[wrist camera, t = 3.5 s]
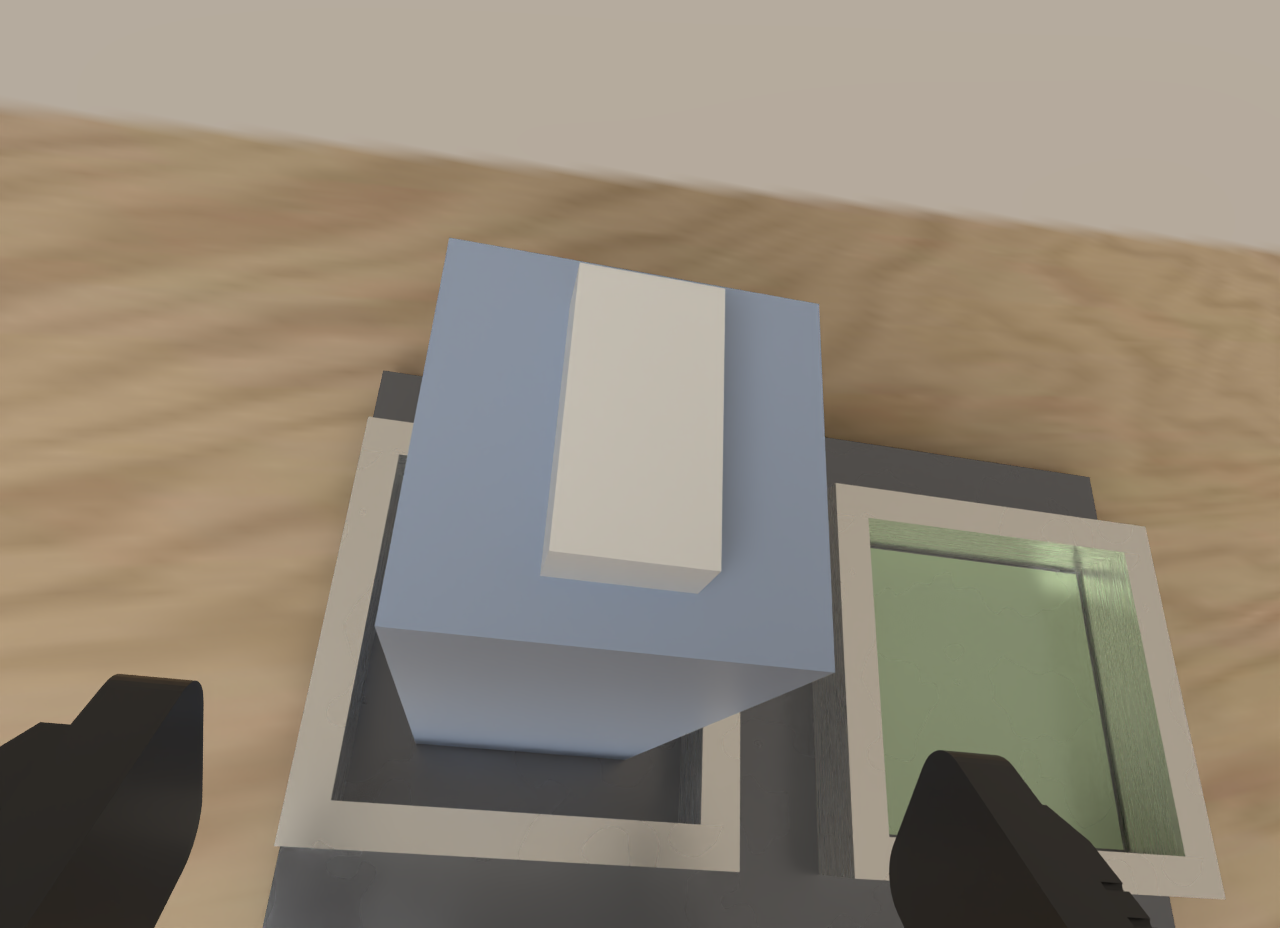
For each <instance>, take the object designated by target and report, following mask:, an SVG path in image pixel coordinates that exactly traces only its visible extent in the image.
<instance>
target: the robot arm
mask: <svg viewBox="0 0 1280 928" xmlns="http://www.w3.org/2000/svg"><path fill="white" fill-rule="evenodd" d="M202 779H203V690H202V687H201V684H200V683H199V682H198V681H192V680H181V679H170V678H158V677H147V676H136V675H125V674H117V675H114V676H112V677H111V678H110V679H108V680H107V682H106V683H105V684H104V685H103V686H102V687H101V688H100V690H99V691H98V692H97V693H96V694H95V696H94V697H93V698H92V699H91V701H90V702H89V703H88V704H87V705H86V707H85V708H84V709H83V710H82V711H81V713H80V714H79V715H78V716H77V717H76V719H75V720H74V721H73V722H72V724H71V725H68V724H55V723H43V722H40V723H38V724H37V725H35V726H33V727H32V728H30V729H28V730H27V731H25V732H24V733H22V734H20V735H19V736H17V737H15V738H14V739H12V740H10V741H9V742H7V743H5V744H4V745H2V746H0V928H154V927H155V925H156V923H157V921H158V919H159V917H160V915H161V913H162V911H163V909H164V907H165V905H166V903H167V901H168V899H169V897H170V895H171V893H172V891H173V889H174V887H175V885H176V883H177V881H178V879H179V877H180V875H181V873H182V871H183V869H184V867H185V865H186V863H187V860H188V858H189V855H190V852H191V849H192V847H193V843H194V840H195V837H196V833H197V829H198V825H199V820H200V814H201V807H202ZM889 882H890V889H891V894H892V899H893V902H894V905H895V908H896V911H897V913H898V915H899V917H900V920H901V922H902V924H903V926H904V928H1152V926H1151V924H1150V917H1149V916H1148V915H1147V914H1146V912H1145V911H1144V910H1143V908H1142V907H1141V906H1140V905H1139V903H1138V902H1137V901H1136V899H1135V898H1134V897H1133V896H1132V894H1131V893H1130V892H1127V891H1124V890H1123V888H1122V884H1123V883H1122V882H1121V880H1120V879H1119V878H1118V876H1117V875H1116V874H1115V873H1114V871H1113V870H1112V869H1111V868H1110V866H1109V865H1108V864H1107V862H1106V861H1105V860H1104V859H1103V857H1102V856H1101V855H1100V854H1099V852H1098V851H1097V850H1096V848H1095V847H1094V846H1093V845H1092V843H1091V842H1090V841H1089V840H1088V839H1087V838H1085V837H1084V836H1083V835H1082V834H1081V833H1079V832H1078V831H1077V830H1076V829H1075V828H1073V827H1072V826H1071V825H1070V824H1069V823H1067V822H1066V821H1065V820H1064V819H1063V818H1061V817H1060V816H1059V815H1058V814H1057V813H1055V812H1054V811H1053V810H1052V809H1051V808H1049V807H1048V806H1047V805H1042V804H1041V802H1040V801H1039V800H1038V798H1037V797H1036V796H1035V794H1034V793H1033V792H1032V790H1031V789H1030V788H1029V786H1028V785H1027V784H1026V783H1025V781H1024V780H1023V779H1022V777H1021V776H1020V775H1019V773H1018V772H1017V771H1016V769H1015V768H1014V767H1013V765H1012V764H1011V763H1010V762H1009V761H1008V760H1006V759H1005V758H1004V757H1001V756H999V755H991V754H980V753H968V752H957V751H946V750H937V751H934V752H933V753H931V754H930V755H929V756H928V758H927V759H926V761H925V763H924V765H923V768H922V770H921V773H920V776H919V778H918V781H917V783H916V786H915V789H914V791H913V794H912V797H911V799H910V802H909V805H908V807H907V810H906V813H905V815H904V818H903V821H902V823H901V826H900V829H899V831H898V834H897V837H896V839H895V842H894V844H893V847H892V851H891V855H890V862H889Z"/></svg>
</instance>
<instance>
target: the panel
mask: <svg viewBox="0 0 1280 928" xmlns="http://www.w3.org/2000/svg"><path fill="white" fill-rule="evenodd" d="M422 377H423V376H416V375H409V374H403V373H396V372H390V371H383V374H382V379H381V383H380V388H379V392H378V397H377V402H376V406H375V411H374V416H373V417H368V420H367V425H366V430H365V434H364V439H363V443H362V448H361V452H360V457H359V461H358V466H357V471H356V475H355V480H354V484H353V489H352V493H351V498H350V502H349V507H348V512H347V516H346V521H345V525H344V530H343V534H342V539H341V543H340V548H339V553H338V557H337V562H336V566H335V571H334V575H333V580H332V585H331V589H330V594H329V598H328V603H327V607H326V612H325V616H324V621H323V626H322V630H321V635H320V639H319V644H318V648H317V653H316V657H315V662H314V667H313V671H312V676H311V680H310V685H309V689H308V694H307V698H306V703H305V708H304V712H303V717H302V721H301V726H300V730H299V735H298V739H297V744H296V749H295V753H294V758H293V762H292V767H291V771H290V776H289V781H288V785H287V790H286V794H285V799H284V803H283V808H282V812H281V817H280V822H279V826H278V831H277V835H276V840H275V844H274V846H280V850H279V854H278V859H277V863H276V868H275V873H274V877H273V882H272V887H271V891H270V896H269V900H268V905H267V910H266V914H265V919H264V923H263V928H904V926H903V924H902V922H901V920H900V917H899V915H898V913H897V911H896V908H895V905H894V902H893V899H892V894H891V889H890V882H889V862H890V855H891V851H892V847H893V844H894V842H895V839H896V837H897V834H898V831H899V829H900V826H901V823H902V821H903V818H904V815H905V813H906V810H907V807H908V805H909V802H910V799H911V797H912V794H913V791H914V789H915V786H916V783H917V781H918V778H919V776H920V773H921V770H922V768H923V765H924V763H925V761H926V759H927V758H928V756H929V755H930V754H931V753H933V752H934V751H937V750H946V751H957V752H968V753H980V754H991V755H999V756H1001V757H1004V758H1005V759H1006V760H1008V761H1009V762H1010V763H1011V764H1012V765H1013V767H1014V768H1015V769H1016V771H1017V772H1018V773H1019V775H1020V776H1021V777H1022V779H1023V780H1024V781H1025V783H1026V784H1027V785H1028V786H1029V788H1030V789H1031V790H1032V792H1033V793H1034V794H1035V796H1036V797H1037V798H1038V800H1039V801H1040V802H1041V804H1042V805H1047V806H1048V807H1049V808H1051V809H1052V810H1053V811H1054V812H1055V813H1057V814H1058V815H1059V816H1060V817H1061V818H1063V819H1064V820H1065V821H1066V822H1067V823H1069V824H1070V825H1071V826H1072V827H1073V828H1075V829H1076V830H1077V831H1078V832H1079V833H1081V834H1082V835H1083V836H1084V837H1085V838H1087V839H1088V840H1089V841H1090V842H1091V843H1092V845H1093V846H1094V847H1095V848H1096V850H1097V851H1098V852H1099V854H1100V855H1101V856H1102V857H1103V859H1104V860H1105V861H1106V862H1107V864H1108V865H1109V866H1110V868H1111V869H1112V870H1113V871H1114V873H1115V874H1116V875H1117V876H1118V878H1119V879H1120V880H1121V882H1122V883H1123V884H1122V888H1123V890H1124V891H1127V892H1130V893H1131V894H1132V896H1133V897H1134V898H1135V899H1136V901H1137V902H1138V903H1139V905H1140V906H1141V907H1142V908H1143V910H1144V911H1145V912H1146V914H1147V915H1148V916H1149V917H1150V924H1151V926H1152V928H1175V925H1174V919H1173V914H1172V909H1171V904H1170V898H1169V896H1172V897H1189V898H1207V899H1225V900H1226V898H1225V894H1224V889H1223V884H1222V880H1221V875H1220V871H1219V866H1218V861H1217V857H1216V852H1215V847H1214V843H1213V838H1212V834H1211V829H1210V824H1209V820H1208V815H1207V810H1206V806H1205V801H1204V796H1203V792H1202V787H1201V783H1200V778H1199V773H1198V769H1197V764H1196V759H1195V755H1194V750H1193V745H1192V741H1191V736H1190V732H1189V727H1188V722H1187V718H1186V713H1185V708H1184V704H1183V699H1182V695H1181V690H1180V685H1179V681H1178V676H1177V671H1176V667H1175V662H1174V657H1173V653H1172V648H1171V644H1170V639H1169V634H1168V630H1167V625H1166V620H1165V616H1164V611H1163V606H1162V602H1161V597H1160V593H1159V588H1158V583H1157V579H1156V574H1155V569H1154V565H1153V560H1152V556H1151V551H1150V546H1149V542H1148V537H1147V532H1146V528H1145V527H1143V526H1136V525H1129V524H1122V523H1115V522H1108V521H1101V520H1097V515H1096V510H1095V505H1094V499H1093V494H1092V489H1091V484H1090V478H1089V477H1084V476H1077V475H1071V474H1064V473H1057V472H1051V471H1044V470H1038V469H1031V468H1024V467H1018V466H1011V465H1005V464H998V463H991V462H985V461H978V460H971V459H965V458H958V457H952V456H945V455H938V454H932V453H925V452H919V451H912V450H905V449H899V448H892V447H886V446H879V445H872V444H866V443H859V442H852V441H846V440H839V439H833V438H826V437H825V454H826V477H827V500H828V522H829V545H830V568H831V591H832V614H833V636H834V659H835V673H833V674H831V675H828V676H826V677H823V678H821V679H818V680H816V681H814V682H811V683H809V684H806V685H804V686H802V687H799V688H797V689H794V690H792V691H790V692H787V693H785V694H782V695H780V696H778V697H775V698H773V699H770V700H768V701H766V702H763V703H761V704H758V705H756V706H753V707H751V708H749V709H746V710H744V711H741V712H739V713H737V714H734V715H732V716H729V717H727V718H725V719H722V720H720V721H717V722H715V723H713V724H710V725H708V726H705V727H703V728H701V729H698V730H696V731H693V732H691V733H688V734H686V735H684V736H681V737H679V738H676V739H674V740H672V741H669V742H667V743H664V744H662V745H660V746H657V747H655V748H652V749H650V750H648V751H645V752H643V753H640V754H638V755H636V756H633V757H631V758H628V759H626V760H620V759H608V758H595V757H582V756H569V755H556V754H544V753H531V752H518V751H505V750H492V749H480V748H467V747H454V746H441V745H429V744H416V742H415V740H414V737H413V734H412V731H411V728H410V725H409V723H408V720H407V717H406V714H405V711H404V708H403V706H402V703H401V700H400V697H399V694H398V691H397V688H396V686H395V683H394V680H393V677H392V674H391V671H390V669H389V666H388V663H387V660H386V657H385V654H384V652H383V649H382V646H381V643H380V640H379V637H378V634H377V632H376V629H375V622H376V616H377V611H378V606H379V601H380V596H381V590H382V585H383V580H384V575H385V570H386V564H387V559H388V554H389V549H390V544H391V538H392V533H393V528H394V523H395V518H396V513H397V507H398V502H399V497H400V492H401V487H402V481H403V476H404V471H405V466H406V461H407V455H408V450H409V445H410V440H411V435H412V429H413V424H414V419H415V414H416V409H417V403H418V398H419V393H420V388H421V383H422Z"/></svg>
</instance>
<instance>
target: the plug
mask: <svg viewBox="0 0 1280 928" xmlns="http://www.w3.org/2000/svg"><path fill="white" fill-rule="evenodd" d="M375 629H376V632H377V634H378V637H379V640H380V643H381V646H382V649H383V652H384V654H385V657H386V660H387V663H388V666H389V669H390V671H391V674H392V677H393V680H394V683H395V686H396V688H397V691H398V694H399V697H400V700H401V703H402V706H403V708H404V711H405V714H406V717H407V720H408V723H409V725H410V728H411V731H412V734H413V737H414V740H415V742H416V744H429V745H441V746H454V747H467V748H480V749H492V750H505V751H518V752H531V753H544V754H556V755H569V756H582V757H595V758H608V759H620V760H626V759H628V758H631V757H633V756H636V755H638V754H640V753H643V752H645V751H648V750H650V749H652V748H655V747H657V746H660V745H662V744H664V743H667V742H669V741H672V740H674V739H676V738H679V737H681V736H684V735H686V734H688V733H691V732H693V731H696V730H698V729H701V728H703V727H705V726H708V725H710V724H713V723H715V722H717V721H720V720H722V719H725V718H727V717H729V716H732V715H734V714H737V713H739V712H741V711H744V710H746V709H749V708H751V707H753V706H756V705H758V704H761V703H763V702H766V701H768V700H770V699H773V698H775V697H778V696H780V695H782V694H785V693H787V692H790V691H792V690H794V689H797V688H799V687H802V686H804V685H806V684H809V683H811V682H814V681H816V680H818V679H821V678H823V677H826V676H828V675H831V674H833V673H835V659H834V636H833V614H832V591H831V568H830V545H829V522H828V500H827V477H826V454H825V431H824V408H823V385H822V363H821V340H820V317H819V304H816V303H810V302H805V301H799V300H794V299H788V298H782V297H777V296H771V295H766V294H760V293H755V292H749V291H743V290H738V289H732V288H727V287H721V286H716V285H710V284H705V283H699V282H693V281H688V280H682V279H677V278H671V277H666V276H660V275H654V274H649V273H643V272H638V271H632V270H627V269H621V268H616V267H610V266H604V265H599V264H593V263H588V262H582V261H577V260H571V259H565V258H560V257H554V256H549V255H543V254H538V253H532V252H527V251H521V250H515V249H510V248H504V247H499V246H493V245H488V244H482V243H476V242H471V241H465V240H460V239H454V238H449V242H448V248H447V253H446V258H445V263H444V268H443V273H442V279H441V284H440V289H439V294H438V299H437V305H436V310H435V315H434V320H433V325H432V331H431V336H430V341H429V346H428V351H427V357H426V362H425V367H424V372H423V377H422V383H421V388H420V393H419V398H418V403H417V409H416V414H415V419H414V424H413V429H412V435H411V440H410V445H409V450H408V455H407V461H406V466H405V471H404V476H403V481H402V487H401V492H400V497H399V502H398V507H397V513H396V518H395V523H394V528H393V533H392V538H391V544H390V549H389V554H388V559H387V564H386V570H385V575H384V580H383V585H382V590H381V596H380V601H379V606H378V611H377V616H376V622H375Z"/></svg>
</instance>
